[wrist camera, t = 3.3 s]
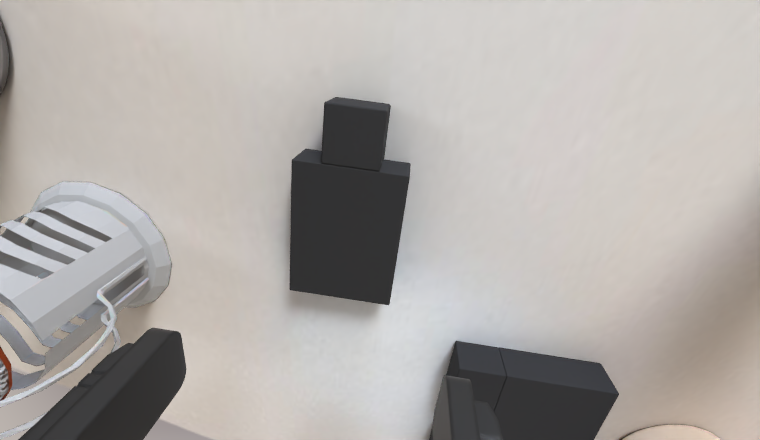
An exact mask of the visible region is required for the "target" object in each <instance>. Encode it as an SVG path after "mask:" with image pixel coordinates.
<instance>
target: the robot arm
mask: <svg viewBox="0 0 760 440" xmlns="http://www.w3.org/2000/svg"><path fill="white" fill-rule="evenodd" d="M8 69H9V55H8V47H7V41H6V37H5V33H4V30H3V27H2V24H1V21H0V94H1V92H2V90H3V89H4V86H5V84H6V80H7V76H8ZM185 375H186V364H185V357H184V351H183V344H182V338H181V334H180V333H179V332H177V331H171V330H164V329H158V328H151V329H149V330H148V331H146V332H145V333H144V334H143V335H142V336H141V337H140V338H139V339H138V340H137V341H136V342H135V343H134V344H132V343H127V344H126V345H124V346H122V347H121V348H119V349H117V350H115V351H114V352H112V353H110V354H109V355H107V356H106V357H105V358H104V359H103V360H102V361H101V362H100V363H99V364H98V365H97V366H96V367H95V368H94V369H93V370H92V372H91V373H88V374H87V375H86V376H85V377H84V378H83V379H82V380H81V381H80V382H79V383H78V386H77V387H76V386H75V387H74V388H73V389H72V390H70V392H68V393H67V394H66V395H65V396H64V397H63V398H62V399H61V400H60V401H59V402H58V403H57V404H56V405H55V406H54V407H53V408H51V409H50V411H48V412H47V413H46V414H45V415H44V416H43V417H42V418H41V419H40V420H39V421H38V422H37V423H36V424H35V425H34V426H32V427H31V428H30V429H29V430H28V431H27V432H26V433H25V434H24V435H23V436H22V437H21V438H20V439H19V440H143V439H144V438H145V436H146V435H147V434H148V432H149V431H150V429H151V428H152V427H153V425H154V424H155V422H156V421H157V420H158V418H159V417H160V416H161V414H162V413H163V412H164V410H165V409H166V407H167V406H168V405H169V403H170V402H171V401H172V399H173V398H174V396H175V395H176V394H177V392H178V391H179V389H180V388H181V386H182V384H183V381H184V378H185ZM433 440H503V437H502V433H501V428H500V424H499V420H498V418H497V417H496V415H495V413H494V412H493V410H492V409H491V407H490V405H489V404H488V402H483V401H477V400H474V396H473V389H472V384H471V381H470V379H465V378H459V377H452V376H446V375H444V377H443V380H442V384H441V387H440V391H439V395H438V399H437V403H436V407H435V412H434V419H433Z"/></svg>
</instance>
